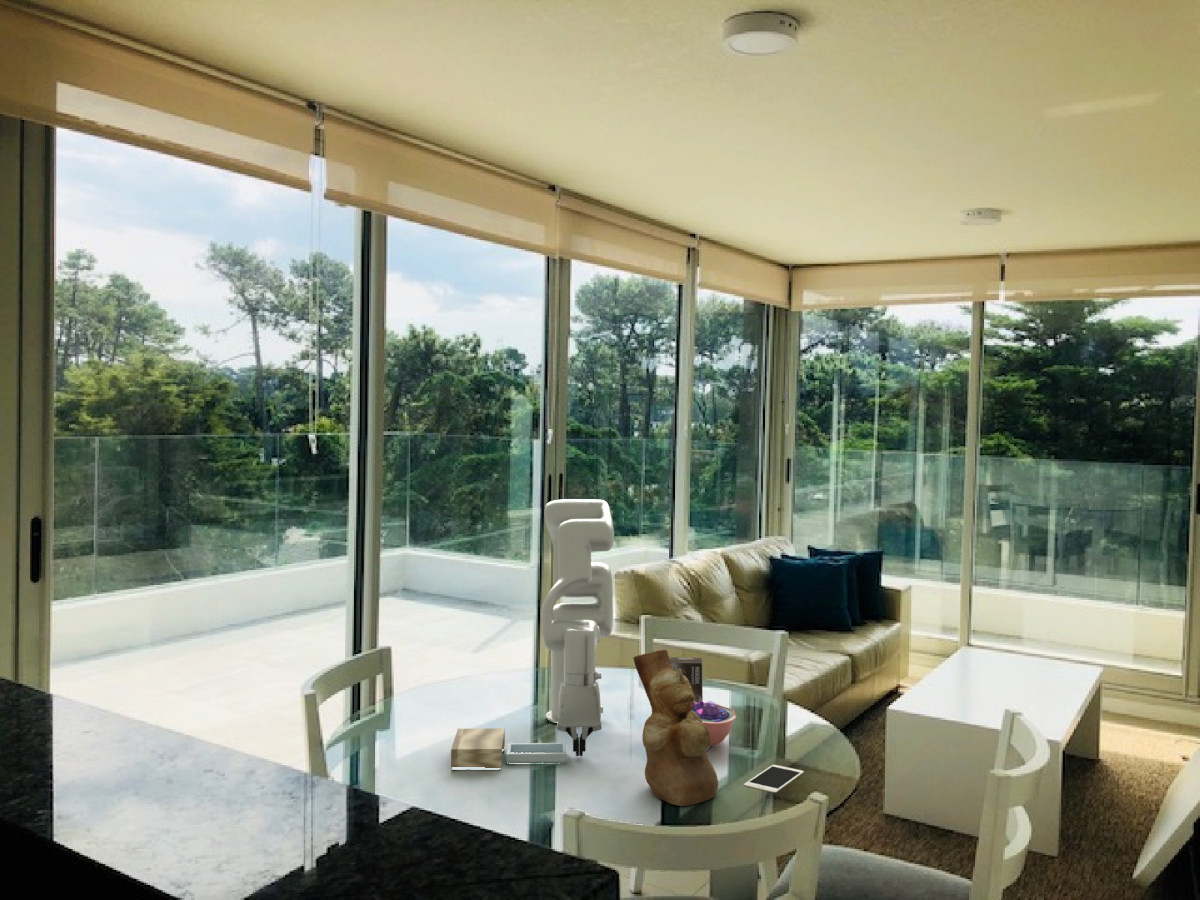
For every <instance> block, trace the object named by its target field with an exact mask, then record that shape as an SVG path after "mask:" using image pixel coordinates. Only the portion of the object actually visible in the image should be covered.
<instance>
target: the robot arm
mask: <svg viewBox="0 0 1200 900" xmlns="http://www.w3.org/2000/svg"><path fill="white" fill-rule="evenodd" d="M543 514H544V522H545V525H546V529H547V533H548V535H549V536H550V539H551V543H552V550H553V585H552V587H551V588H550V590H549V591H548V593H547V594H546V595H545V598H544V600H543V603H542V607H541V638H542V639H541V641H542V644H543V646H544V647H545V649H547V650H549V651H550V652H551V669H550V670H551V671H550V673H551V676H550V677H551V684H550V686H551V693H550V695H551V697H550V700H551V701H550V704H551V705H550V709H551V710H550V711H547V712H546V714H545V719H546V718H547V719H548V720H551V721H555V722H558V724H556V730H557V731H559V732H564V733H566V734H567V735H569V736H570V738H571V739H572V752H573V753H574V752H575V757H579V756H580V757H583V756H584V752H586V750H587V749H586V747H587V746H586V742H587V741H586V740H587V739H588V738H589V736H590V735H591V734H592V733H593V732H598V731H601V730H602V729H603V728H602V727H603V726H602V723H601V719H602V718H601V717H602V714H604V706H603V705H601V694H600V693H601V692H600V687H599V682H597V680H600V679H601V680H602V673H601V672H597V671H596V647H597V646H598V644H599V643H600V640H601V638H607V637H609V636H610V635H611V633H612V631H613V627H614V611H613V610H614V608H613V606H614V603H613V601H614V600H613V598H614V597H613V596H614V595H613V590H614V589H613V575H612V571H611V567H610V566H609V565H608V564H606V563H604V562H600V561H598V562H595V561H594V562H592V552H608V551H610V550H612V548H613V546H614V542H615V529H614V523H613V518H612V513H611V508H610V506H609V504H608V502H607V501H605V500H603V499H576V498H574V499H572V498H571V499H570V498H569V499H567V498H566V499H564V498H563V499H555V500H551V501H549V502H548V503H546V504H545V507H544V513H543ZM561 597H562V598H571V599H573V598H574V599H575V598H584V599H585V598H593V599H594V600H595V601H596V602H593V601H592V602H561V603H560V602H559V603H557V601H558V600H559V599H560V598H561ZM556 603H557V604H556ZM577 728H582V729H581V733H580V735H579V733H577Z"/></svg>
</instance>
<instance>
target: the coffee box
mask: <svg viewBox="0 0 1200 900" xmlns="http://www.w3.org/2000/svg"><path fill="white" fill-rule="evenodd" d="M669 659H670V663H671V665H672V668H673V670H674V671H675V672H677V670H678V669H681V670H682V672H683V675H684V676H685V677H686V678H687V679H688V681H689V683H690V685H691V687H692V691H693V694H694V701H693V702H696V703H698V702H699V700H701V701H702V702H704V700H703V698H704V696H703V691H704V690H703V658H702V657H680V656H679V657H678V656H677V657H675V656H674V657H671V656H669Z"/></svg>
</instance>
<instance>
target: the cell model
mask: <svg viewBox="0 0 1200 900" xmlns="http://www.w3.org/2000/svg"><path fill="white" fill-rule="evenodd" d="M691 710H692V711H694V712H695V713H697V715H698V716H699V717H700V719H701V720H702V722H703V724H704V725H705V726H706V727H707V729H708V731H709V734H710V746H709V748H711V747H715V746H718V745H719V744H722V743H723V741H724V740H725V739H726V738H727V737H728V735H729V734H730V733H731V730H732V728H733V726H734V725H733V724H734V722H735V720H736V718H737V715H736V713H735V712H736V711H735V710H733V709H731V708H729V707H726V706H723V705H720V704H717V703H715V702H714V701H712V700H708V701H706V702H704V701H703V702H702V701H701V700H699V702H698V703H696V702H693V708H692V709H691Z"/></svg>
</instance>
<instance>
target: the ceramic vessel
mask: <svg viewBox="0 0 1200 900" xmlns="http://www.w3.org/2000/svg"><path fill="white" fill-rule="evenodd" d="M632 659H633V662H634V666H635V669H636V672H637V674H638V676H639V677H638V678H639V679H640V681H641V684H642V686H643V689H644V691H645V694H646V698H647V699H648V701H649V704H650V707H651V714H650V716H649V717H647V719H646V721H645V722H644V724H643V725H644V726H643V731H642V735H641V736H642V737H641V738H642V743H643V744H642V745H643V747H644V748H645V752H646V763H645V768H644V779H645V781H646V783H647V784H648V786H649V788H650V789H651V791H652V794H653V795H654V797H657V798H658V799H660V800H662V801H665V802H666V803H668V804H671V805H674V806H675V805H676V806H680V807H686V806H691V805H695V804H699V803H702V802H707V801H709V800H710V799H713V798H714V797H715V796H716V794H717V791H718V789H719V779H718V774H717V772H716V770H715V768H714V766H713V765H712V763H711V760H710V759H709V757H708V755H707V753H706V752H707V750H708V749H710V747H709V746H710V734H709V731H708V729H707V727H706V726H705V725H704V724H703V722H702V720H701V719H700V717H699V716H698V715H697V713H695V712H694V711H692V710H691V709H692V708H693V701H694V694H693V691H692V687H691V685H690V683H689V681H688V679H687V678H686V677H685V676H684V675H683V672H682V670H681V669H678V670H677V672H675V671H674V670H673V668H672V665H671V663H670V655H669V652H668V650H667V649H666V648H664V649H659V650H654V651H651V652H650V651H649V652H646V653H642V654H638V655H635V656H634V657H632Z"/></svg>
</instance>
